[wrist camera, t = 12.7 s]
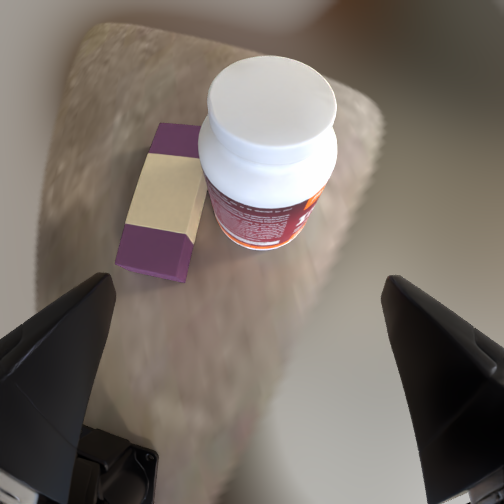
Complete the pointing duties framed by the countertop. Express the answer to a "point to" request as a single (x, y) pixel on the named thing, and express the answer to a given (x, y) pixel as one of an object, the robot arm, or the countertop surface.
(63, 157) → the countertop surface
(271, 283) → the countertop surface
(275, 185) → the pill bottle
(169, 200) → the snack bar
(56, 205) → the countertop surface
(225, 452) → the countertop surface
